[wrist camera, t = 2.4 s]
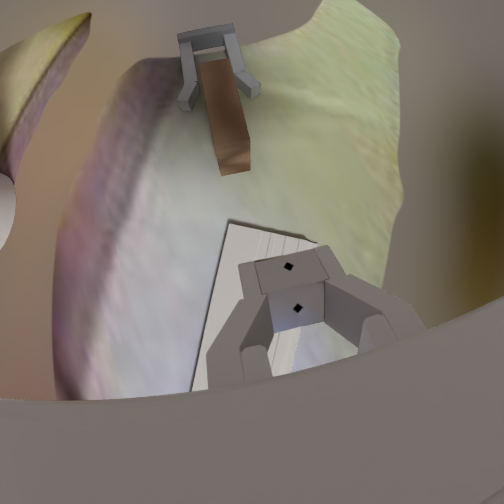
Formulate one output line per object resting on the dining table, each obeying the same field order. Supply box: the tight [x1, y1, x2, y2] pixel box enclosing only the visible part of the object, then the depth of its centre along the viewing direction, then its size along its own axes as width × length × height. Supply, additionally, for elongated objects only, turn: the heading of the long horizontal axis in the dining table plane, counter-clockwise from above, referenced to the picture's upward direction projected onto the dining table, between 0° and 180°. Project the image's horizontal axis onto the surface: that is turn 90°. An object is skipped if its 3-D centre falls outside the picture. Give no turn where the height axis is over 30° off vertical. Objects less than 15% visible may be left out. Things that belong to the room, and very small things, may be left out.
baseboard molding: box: [192, 224, 318, 391], centre depth 33 cm, size 31×3×12 cm
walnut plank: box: [199, 58, 250, 176], centre depth 34 cm, size 4×12×8 cm, turn 12°
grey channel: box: [177, 23, 260, 111], centre depth 38 cm, size 11×14×4 cm
